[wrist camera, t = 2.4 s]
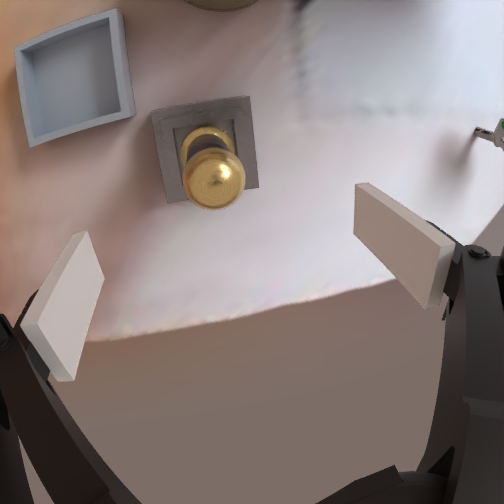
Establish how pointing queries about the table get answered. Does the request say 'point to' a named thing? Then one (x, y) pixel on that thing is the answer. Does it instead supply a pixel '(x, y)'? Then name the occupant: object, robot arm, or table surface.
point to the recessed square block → (199, 114)
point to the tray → (74, 77)
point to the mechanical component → (493, 134)
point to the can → (221, 4)
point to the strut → (211, 168)
